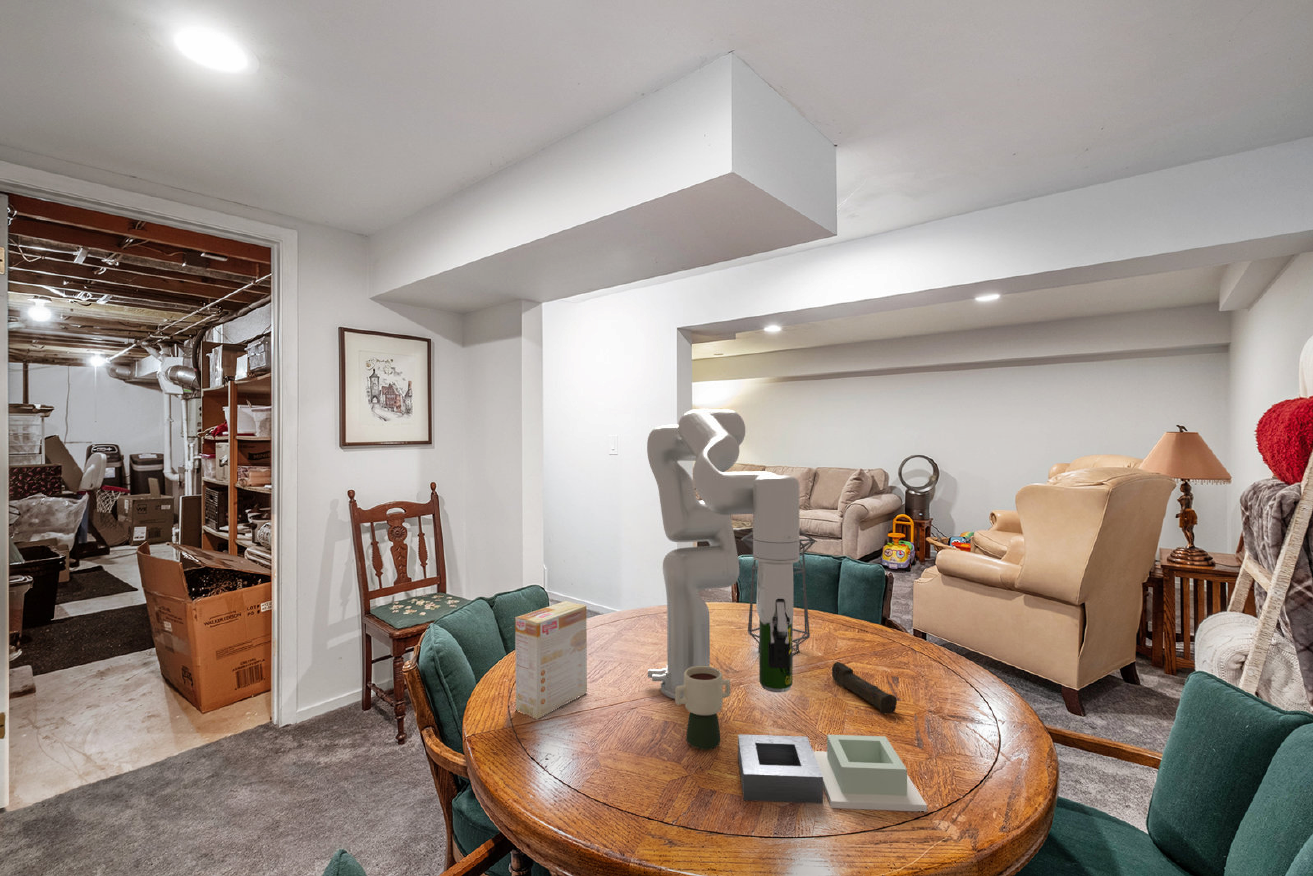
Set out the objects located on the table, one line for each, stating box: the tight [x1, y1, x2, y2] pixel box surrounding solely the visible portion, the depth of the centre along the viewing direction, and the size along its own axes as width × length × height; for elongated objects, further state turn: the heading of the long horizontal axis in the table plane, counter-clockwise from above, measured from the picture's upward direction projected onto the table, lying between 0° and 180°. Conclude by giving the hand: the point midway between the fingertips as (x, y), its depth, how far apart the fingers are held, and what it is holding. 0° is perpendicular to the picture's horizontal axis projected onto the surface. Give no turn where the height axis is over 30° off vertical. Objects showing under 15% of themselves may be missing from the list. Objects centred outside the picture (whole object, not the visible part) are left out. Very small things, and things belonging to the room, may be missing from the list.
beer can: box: [758, 617, 794, 694], centre depth 93 cm, size 5×5×12 cm
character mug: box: [674, 666, 731, 751], centre depth 103 cm, size 11×7×13 cm, turn 108°
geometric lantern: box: [741, 529, 818, 656], centre depth 150 cm, size 16×16×35 cm
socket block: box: [737, 733, 824, 804], centre depth 92 cm, size 12×12×4 cm
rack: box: [813, 734, 928, 813], centre depth 91 cm, size 14×14×5 cm
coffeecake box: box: [514, 600, 588, 720], centre depth 120 cm, size 15×7×20 cm, turn 145°
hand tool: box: [831, 661, 898, 715], centre depth 124 cm, size 19×4×5 cm, turn 16°
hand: (775, 658), depth 93 cm, fingers closed on beer can, 5 cm apart
